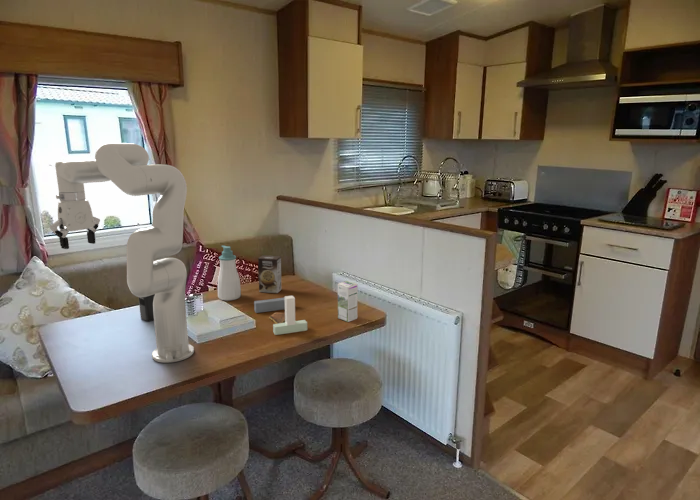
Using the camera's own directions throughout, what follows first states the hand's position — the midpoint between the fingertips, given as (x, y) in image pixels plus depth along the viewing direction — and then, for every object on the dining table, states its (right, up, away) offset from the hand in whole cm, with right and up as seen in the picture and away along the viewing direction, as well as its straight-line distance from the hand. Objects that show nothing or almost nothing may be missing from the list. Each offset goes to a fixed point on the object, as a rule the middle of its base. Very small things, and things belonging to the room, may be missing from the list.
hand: (78, 245), depth 159 cm
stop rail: (+64, -26, +28) cm, 74 cm away
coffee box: (+58, -21, +51) cm, 80 cm away
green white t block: (+73, -31, +6) cm, 80 cm away
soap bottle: (+42, -23, +42) cm, 63 cm away
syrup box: (+94, -29, +19) cm, 100 cm away
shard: (+69, -29, +17) cm, 77 cm away
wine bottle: (+18, -28, +17) cm, 37 cm away
